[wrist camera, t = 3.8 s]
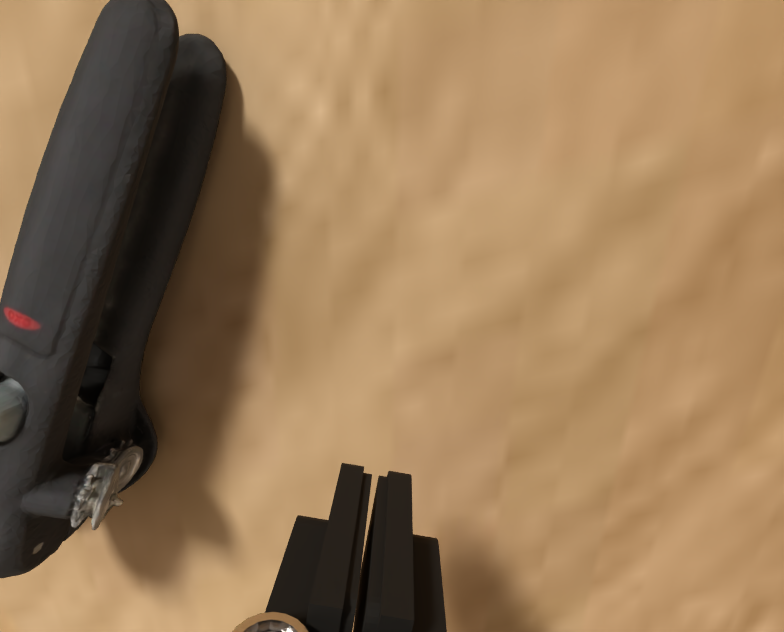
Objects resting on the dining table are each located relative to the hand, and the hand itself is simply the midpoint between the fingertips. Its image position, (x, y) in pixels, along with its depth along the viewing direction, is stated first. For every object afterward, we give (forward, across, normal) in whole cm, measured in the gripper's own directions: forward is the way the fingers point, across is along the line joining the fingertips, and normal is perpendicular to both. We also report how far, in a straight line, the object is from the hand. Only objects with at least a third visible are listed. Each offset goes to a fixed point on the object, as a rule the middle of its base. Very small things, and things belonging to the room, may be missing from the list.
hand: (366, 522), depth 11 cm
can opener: (+7, +9, -3) cm, 12 cm away
